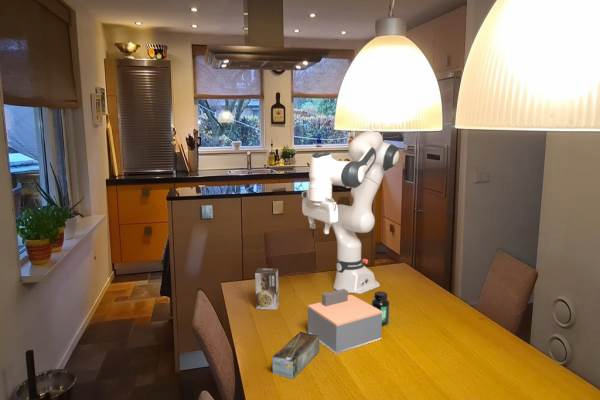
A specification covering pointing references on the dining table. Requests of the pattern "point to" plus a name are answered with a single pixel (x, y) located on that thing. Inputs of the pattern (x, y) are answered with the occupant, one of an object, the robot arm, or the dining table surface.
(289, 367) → the beverage carton
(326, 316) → the cover
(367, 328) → the storage box
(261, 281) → the coffee box
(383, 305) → the supplement bottle
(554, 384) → the dining table surface
